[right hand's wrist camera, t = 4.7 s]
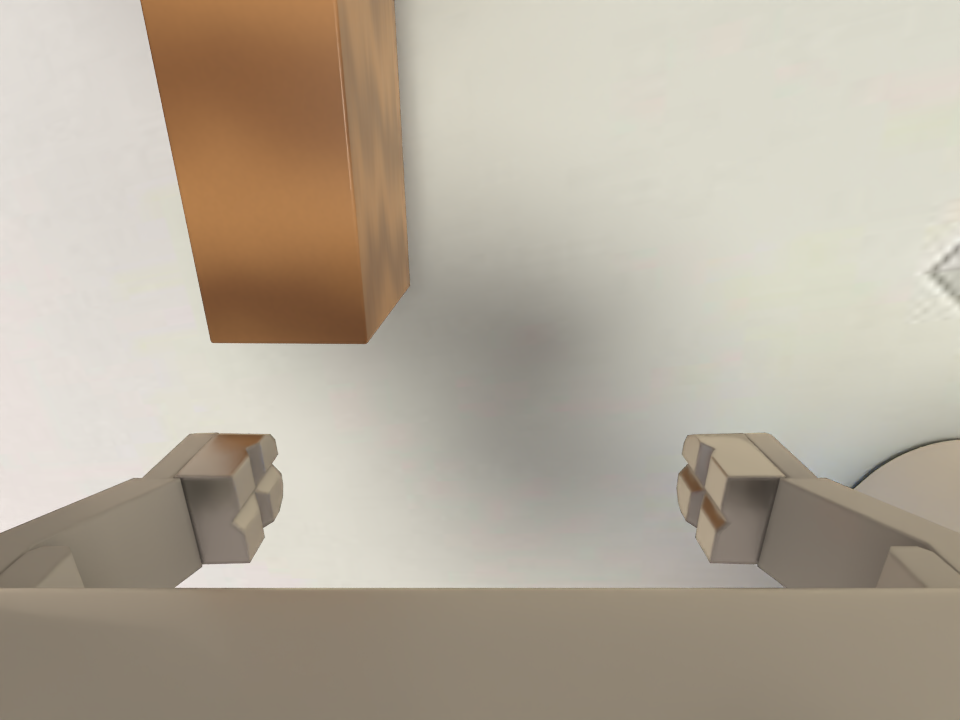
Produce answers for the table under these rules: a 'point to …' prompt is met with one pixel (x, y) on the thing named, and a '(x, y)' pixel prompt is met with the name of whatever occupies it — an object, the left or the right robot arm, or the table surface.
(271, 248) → the bar
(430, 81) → the table surface
